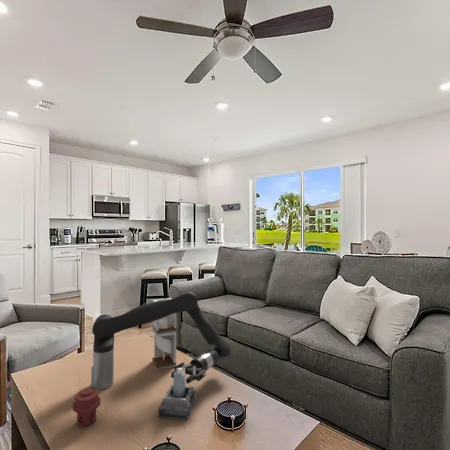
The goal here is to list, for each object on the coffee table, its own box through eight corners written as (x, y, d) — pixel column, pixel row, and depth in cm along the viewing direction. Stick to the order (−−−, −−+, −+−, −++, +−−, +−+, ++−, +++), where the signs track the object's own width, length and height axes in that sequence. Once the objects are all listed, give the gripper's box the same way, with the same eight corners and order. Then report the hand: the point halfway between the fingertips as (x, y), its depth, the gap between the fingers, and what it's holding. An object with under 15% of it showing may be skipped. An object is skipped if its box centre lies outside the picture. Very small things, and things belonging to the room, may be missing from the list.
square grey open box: (158, 418, 124) (158, 403, 124) (169, 397, 138) (169, 384, 138) (187, 420, 122) (187, 406, 122) (195, 399, 137) (195, 386, 137)
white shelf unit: (152, 361, 174) (152, 299, 173) (170, 357, 178) (171, 298, 178) (156, 370, 163) (157, 305, 163) (176, 366, 168) (176, 302, 167)
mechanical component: (105, 416, 125) (90, 432, 115) (83, 412, 127) (66, 428, 117) (105, 386, 125) (90, 400, 115) (83, 383, 127) (66, 396, 117)
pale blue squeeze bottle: (171, 399, 130) (172, 371, 130) (175, 393, 135) (175, 366, 135) (183, 400, 129) (183, 372, 129) (186, 394, 134) (186, 366, 134)
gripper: (190, 352, 149) (166, 365, 136) (214, 359, 142) (192, 374, 128) (190, 367, 149) (166, 382, 136) (214, 375, 142) (192, 392, 128)
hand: (179, 378), depth 132 cm, fingers open, 8 cm apart
